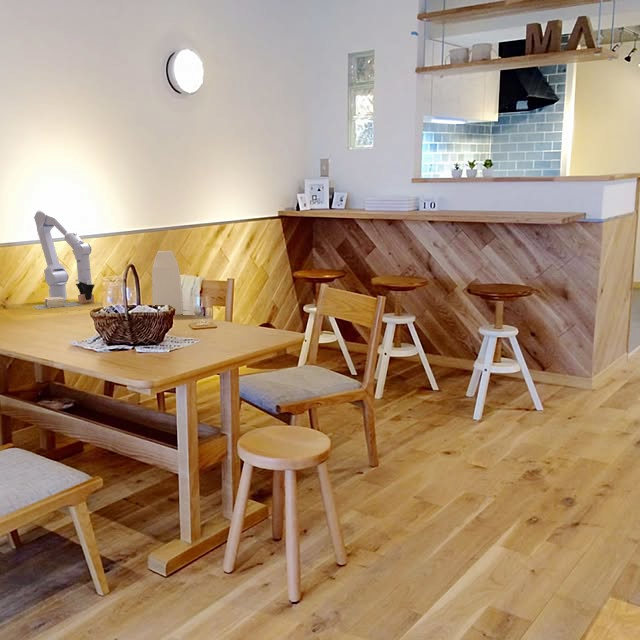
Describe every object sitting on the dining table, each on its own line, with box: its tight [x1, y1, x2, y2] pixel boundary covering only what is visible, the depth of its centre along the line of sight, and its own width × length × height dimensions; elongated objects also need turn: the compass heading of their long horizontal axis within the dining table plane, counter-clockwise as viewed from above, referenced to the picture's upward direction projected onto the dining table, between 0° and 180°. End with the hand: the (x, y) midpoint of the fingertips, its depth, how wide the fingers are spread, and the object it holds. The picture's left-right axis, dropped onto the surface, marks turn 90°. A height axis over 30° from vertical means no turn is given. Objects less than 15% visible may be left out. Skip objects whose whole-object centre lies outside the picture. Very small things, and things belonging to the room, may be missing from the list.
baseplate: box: [31, 301, 82, 311], centre depth 330 cm, size 13×19×2 cm
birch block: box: [43, 297, 66, 309], centre depth 328 cm, size 7×7×4 cm
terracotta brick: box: [77, 293, 95, 304], centre depth 340 cm, size 4×6×5 cm
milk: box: [151, 250, 185, 315], centre depth 307 cm, size 12×12×26 cm
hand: (86, 298), depth 340 cm, fingers open, 7 cm apart
